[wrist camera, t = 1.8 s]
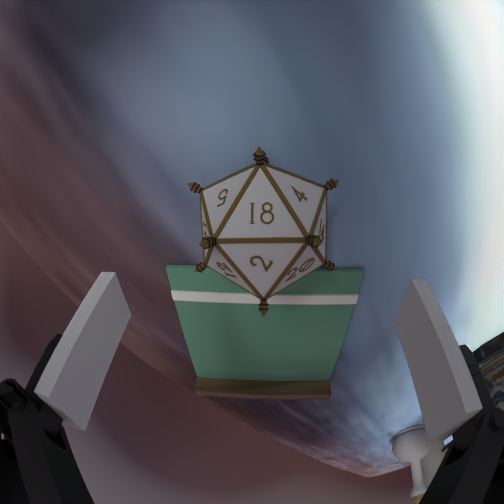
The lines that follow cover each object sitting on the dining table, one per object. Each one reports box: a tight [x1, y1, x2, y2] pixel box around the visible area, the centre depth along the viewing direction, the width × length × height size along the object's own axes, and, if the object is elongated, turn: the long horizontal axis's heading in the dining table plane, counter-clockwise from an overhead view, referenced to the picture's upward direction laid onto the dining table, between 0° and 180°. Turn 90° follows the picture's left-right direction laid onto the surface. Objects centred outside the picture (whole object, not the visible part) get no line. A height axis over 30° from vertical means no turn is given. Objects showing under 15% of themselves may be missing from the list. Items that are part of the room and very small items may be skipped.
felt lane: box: [166, 265, 364, 381], centre depth 28 cm, size 17×16×1 cm
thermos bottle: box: [420, 441, 446, 488], centre depth 43 cm, size 8×8×28 cm
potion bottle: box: [392, 425, 431, 504], centre depth 40 cm, size 9×9×18 cm
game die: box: [188, 147, 339, 317], centre depth 17 cm, size 9×8×10 cm
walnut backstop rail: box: [194, 377, 331, 400], centre depth 33 cm, size 1×16×2 cm, turn 91°
